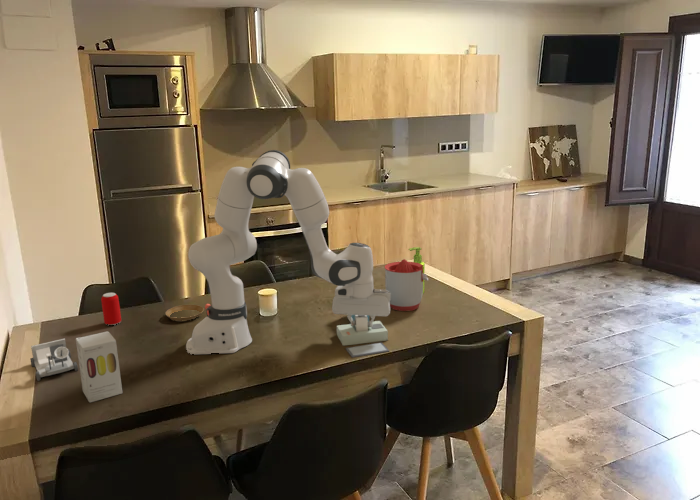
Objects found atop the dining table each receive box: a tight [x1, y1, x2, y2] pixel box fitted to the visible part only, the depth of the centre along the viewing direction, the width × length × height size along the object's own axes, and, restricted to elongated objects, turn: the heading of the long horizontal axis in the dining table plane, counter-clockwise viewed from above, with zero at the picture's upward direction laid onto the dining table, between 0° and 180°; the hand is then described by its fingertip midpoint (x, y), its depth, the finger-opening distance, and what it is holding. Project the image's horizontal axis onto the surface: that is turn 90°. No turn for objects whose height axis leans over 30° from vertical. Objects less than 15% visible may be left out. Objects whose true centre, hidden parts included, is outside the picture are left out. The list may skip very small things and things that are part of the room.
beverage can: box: [100, 292, 122, 326], centre depth 219 cm, size 6×6×12 cm
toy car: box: [30, 338, 79, 382], centre depth 182 cm, size 18×10×12 cm
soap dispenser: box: [408, 246, 426, 294], centre depth 245 cm, size 6×7×20 cm
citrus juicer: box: [384, 258, 429, 312], centre depth 228 cm, size 16×17×20 cm
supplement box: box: [75, 331, 123, 404], centre depth 165 cm, size 10×9×17 cm
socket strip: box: [336, 320, 389, 346], centre depth 201 cm, size 16×10×4 cm, turn 103°
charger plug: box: [355, 315, 368, 332], centre depth 201 cm, size 4×4×7 cm
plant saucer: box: [164, 304, 205, 322], centre depth 226 cm, size 15×15×3 cm
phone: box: [345, 341, 390, 359], centre depth 191 cm, size 13×7×1 cm, turn 108°
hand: (361, 326), depth 200 cm, fingers closed on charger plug, 5 cm apart
